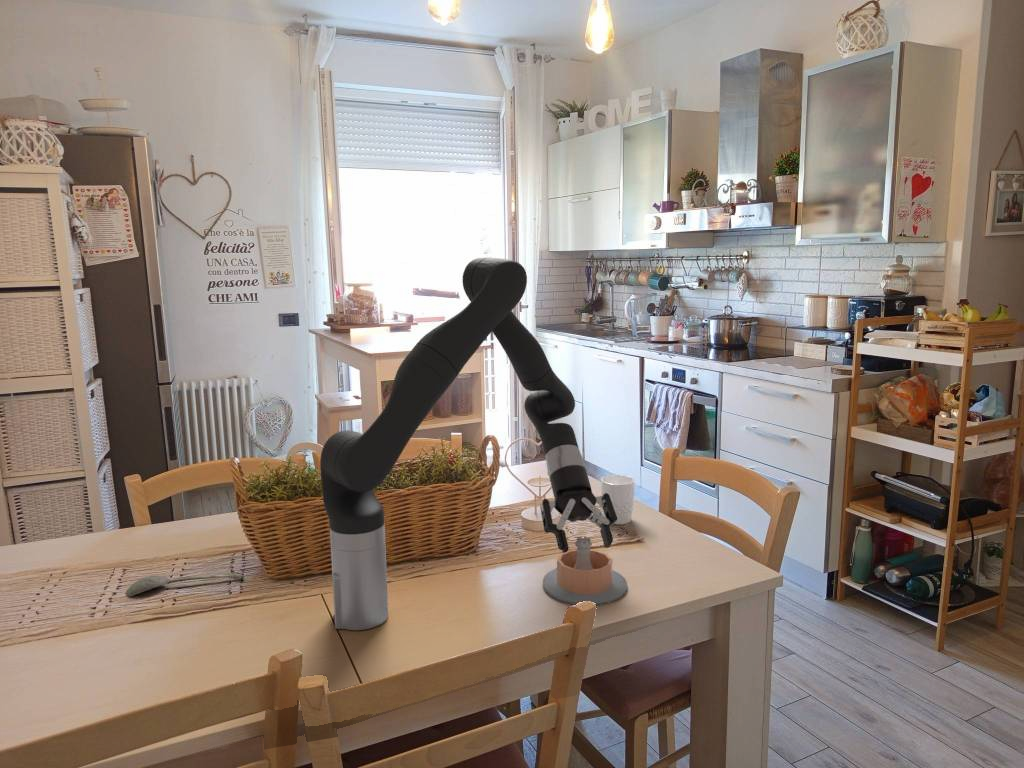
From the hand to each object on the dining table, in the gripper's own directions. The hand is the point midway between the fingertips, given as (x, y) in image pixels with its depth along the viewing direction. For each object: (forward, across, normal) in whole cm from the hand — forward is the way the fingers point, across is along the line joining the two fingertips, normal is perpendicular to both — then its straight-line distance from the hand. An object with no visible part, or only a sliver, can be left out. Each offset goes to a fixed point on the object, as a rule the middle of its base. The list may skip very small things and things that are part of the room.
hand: (587, 548), depth 136 cm
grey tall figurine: (+4, 0, +6) cm, 7 cm away
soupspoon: (-10, -74, +23) cm, 78 cm away
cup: (+5, 0, +7) cm, 8 cm away
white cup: (-17, +20, +29) cm, 39 cm away
